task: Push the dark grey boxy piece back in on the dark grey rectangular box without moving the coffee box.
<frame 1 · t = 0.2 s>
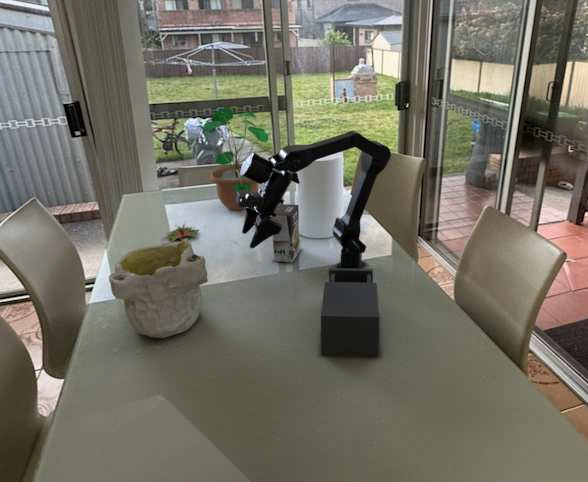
hand: (247, 240, 119), 15 cm above the table, tool tilted 30°, fingers open, 9 cm apart
ceramic vessel: (168, 317, 112), on the table
cylinder: (319, 228, 161), on the table
dark grey boxy piece: (350, 291, 113), point 5 cm above the table, slide at 7.0 cm
potted plant: (246, 203, 184), on the table
coffee box: (287, 255, 142), on the table
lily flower: (182, 236, 156), on the table
dark grey rectangular box: (350, 336, 105), on the table
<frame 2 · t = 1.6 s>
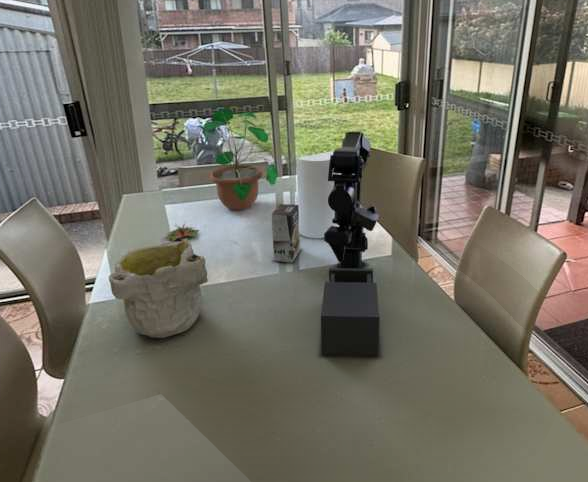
hand: (345, 254, 118), 12 cm above the table, tool pointing down, fingers open, 9 cm apart
nothing on the table moved.
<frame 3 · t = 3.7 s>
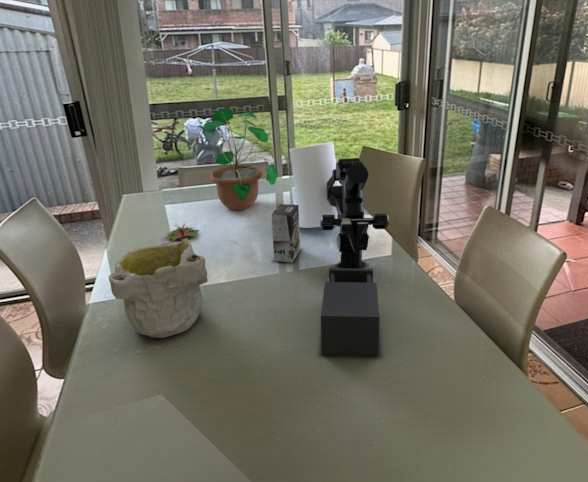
hand: (355, 252, 119), 12 cm above the table, tool tilted 45°, fingers closed
cylinder: (320, 222, 161), point 2 cm above the table
everything else where it was.
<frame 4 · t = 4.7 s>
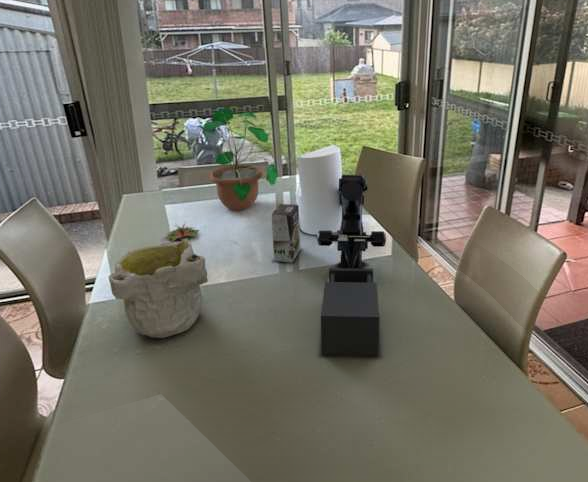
hand: (351, 268, 119), 8 cm above the table, tool tilted 45°, fingers closed
cylinder: (323, 225, 162), point 1 cm above the table
everything else where it was.
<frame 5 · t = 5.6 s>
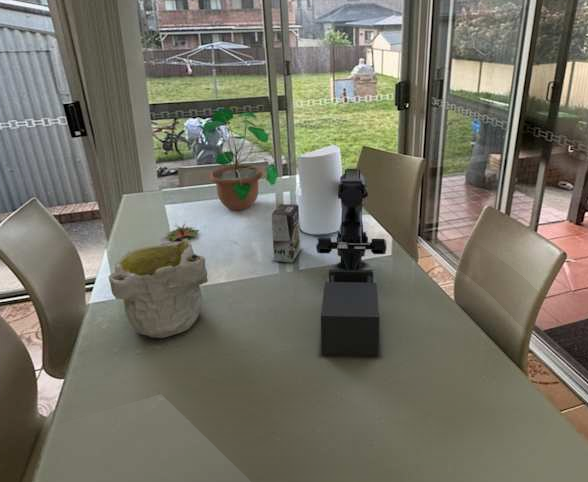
hand: (350, 277, 116), 7 cm above the table, tool tilted 45°, fingers closed, pressing on dark grey boxy piece
dark grey boxy piece: (350, 293, 112), point 5 cm above the table, slide at 6.3 cm, touching gripper
everything else where it was.
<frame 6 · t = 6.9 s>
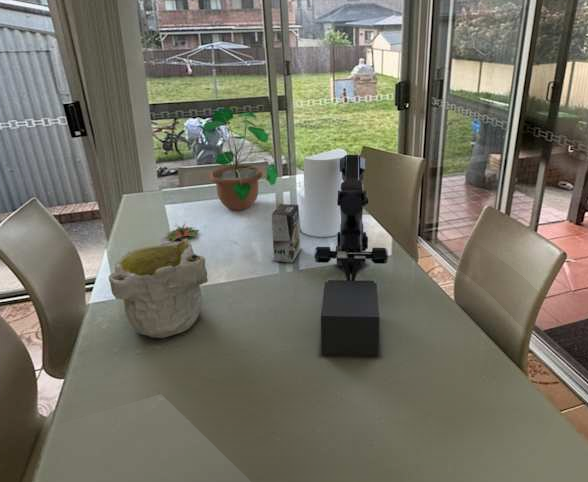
hand: (350, 288, 111), 7 cm above the table, tool tilted 45°, fingers closed, pressing on dark grey boxy piece
dark grey boxy piece: (350, 305, 107), point 5 cm above the table, slide at 1.1 cm, touching gripper
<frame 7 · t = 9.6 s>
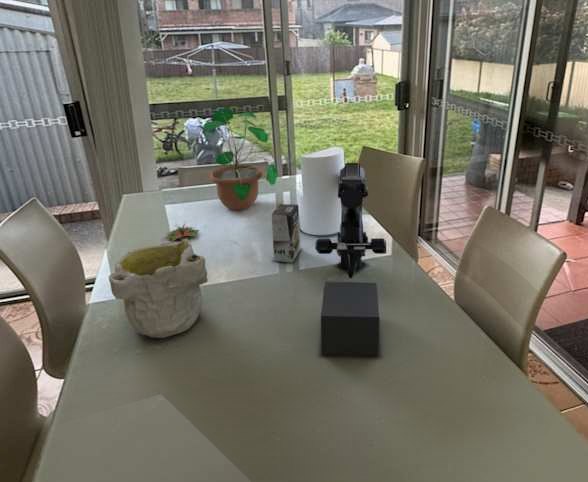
hand: (350, 278, 115), 7 cm above the table, tool tilted 45°, fingers closed
dark grey boxy piece: (350, 308, 106), point 5 cm above the table, slide at 0.0 cm, touching dark grey rectangular box
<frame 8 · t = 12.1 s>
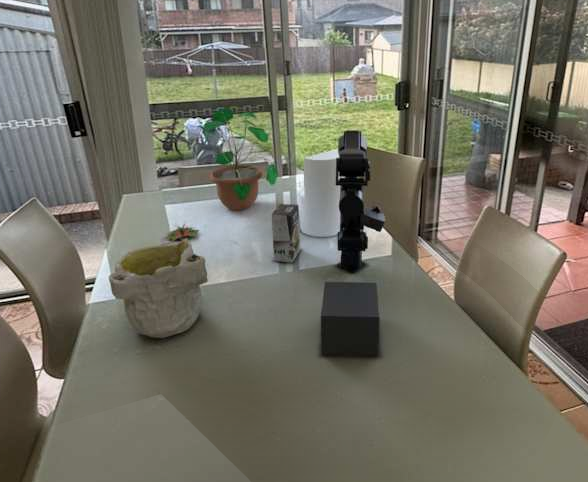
hand: (351, 256, 116), 12 cm above the table, tool pointing down, fingers closed
at the end: dark grey boxy piece slide at 0.0 cm; coffee box moved 0.2 cm from its start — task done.
